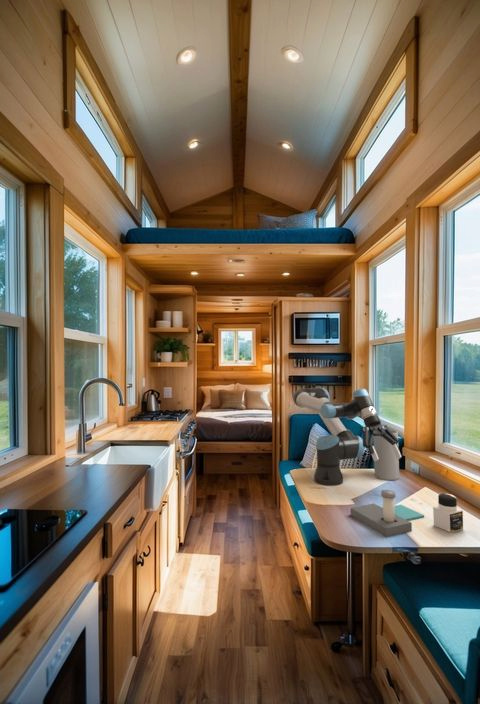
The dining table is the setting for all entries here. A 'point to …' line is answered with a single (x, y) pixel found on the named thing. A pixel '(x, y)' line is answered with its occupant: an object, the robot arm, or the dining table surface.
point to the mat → (406, 513)
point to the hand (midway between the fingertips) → (388, 459)
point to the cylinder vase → (386, 459)
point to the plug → (388, 505)
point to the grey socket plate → (380, 520)
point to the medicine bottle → (448, 514)
